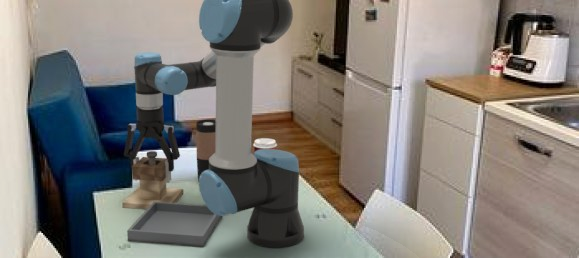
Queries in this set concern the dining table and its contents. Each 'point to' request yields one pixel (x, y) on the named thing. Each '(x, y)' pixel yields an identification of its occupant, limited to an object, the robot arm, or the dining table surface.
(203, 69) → the robot arm
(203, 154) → the travel mug
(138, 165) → the collar
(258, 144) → the paper cup
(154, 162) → the stake stand
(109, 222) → the dining table surface
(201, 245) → the tray
